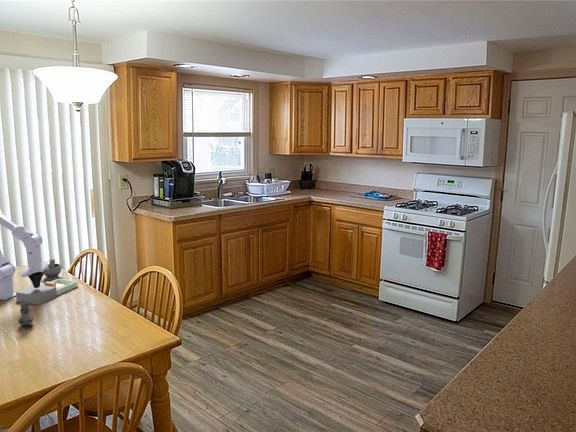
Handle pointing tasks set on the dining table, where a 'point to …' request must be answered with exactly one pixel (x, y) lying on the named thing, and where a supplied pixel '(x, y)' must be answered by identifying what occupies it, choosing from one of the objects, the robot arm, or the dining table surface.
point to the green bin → (67, 287)
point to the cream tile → (59, 286)
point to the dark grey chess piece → (25, 316)
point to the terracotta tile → (50, 284)
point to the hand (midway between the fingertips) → (36, 287)
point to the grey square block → (36, 294)
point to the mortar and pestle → (52, 270)
